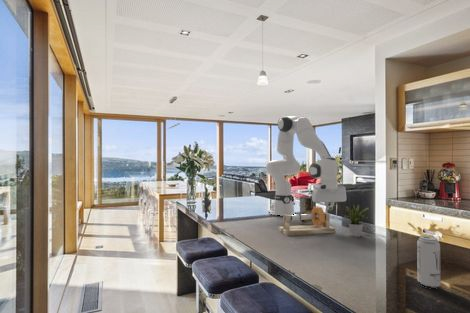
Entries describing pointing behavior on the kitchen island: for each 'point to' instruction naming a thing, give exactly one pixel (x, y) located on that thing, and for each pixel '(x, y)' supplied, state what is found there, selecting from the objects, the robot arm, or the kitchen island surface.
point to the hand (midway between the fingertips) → (329, 210)
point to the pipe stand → (305, 227)
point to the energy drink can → (428, 261)
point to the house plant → (355, 221)
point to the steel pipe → (303, 216)
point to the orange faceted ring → (320, 216)
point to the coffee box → (306, 208)
